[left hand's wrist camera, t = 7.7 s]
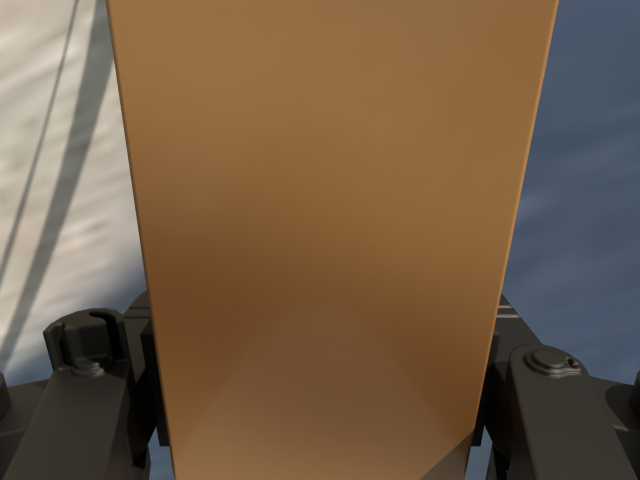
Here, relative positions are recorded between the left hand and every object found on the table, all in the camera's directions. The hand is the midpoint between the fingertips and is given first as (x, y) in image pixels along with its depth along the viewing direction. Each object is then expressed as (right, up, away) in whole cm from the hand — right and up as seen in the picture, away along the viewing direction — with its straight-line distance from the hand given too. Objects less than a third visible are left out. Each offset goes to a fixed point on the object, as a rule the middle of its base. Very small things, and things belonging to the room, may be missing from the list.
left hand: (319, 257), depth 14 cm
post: (-1, -26, +11) cm, 28 cm away
